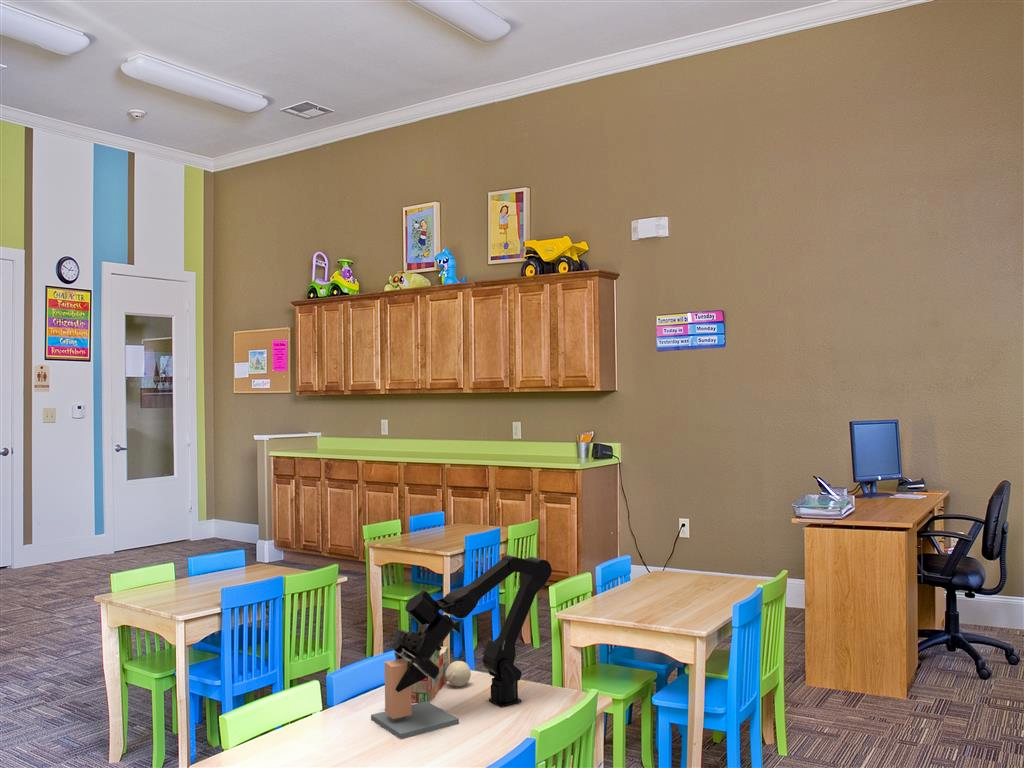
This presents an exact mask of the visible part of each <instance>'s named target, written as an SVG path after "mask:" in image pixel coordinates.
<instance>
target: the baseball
mask: <svg viewBox="0 0 1024 768" xmlns="http://www.w3.org/2000/svg"><path fill="white" fill-rule="evenodd" d="M471 672H472V671H471V667H470V665H468V663H466V662H464V661H462V660H455V661H453V662H451V663H449V666H448V668H447V670H446V672H445V677H446V680H447V682H448V683H449V684H450V685H452V686H454V687H463V686H465V685H467V684H468V682H470V680H471V675H472V673H471Z"/></svg>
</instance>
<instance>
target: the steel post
mask: <svg viewBox="0 0 1024 768" xmlns="http://www.w3.org/2000/svg"><path fill="white" fill-rule="evenodd" d="M403 719H404V717H400V718H395V719H393V720H394V721H401V720H403Z"/></svg>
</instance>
